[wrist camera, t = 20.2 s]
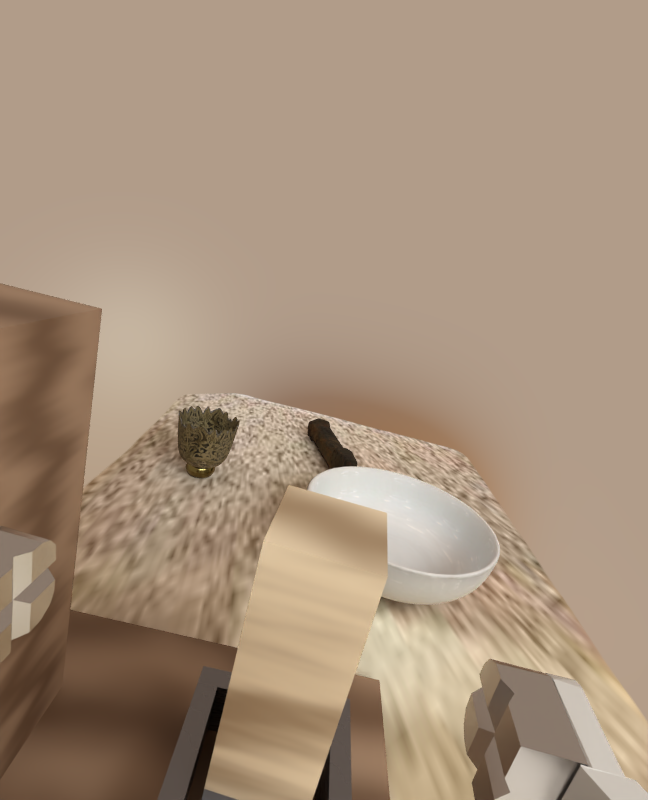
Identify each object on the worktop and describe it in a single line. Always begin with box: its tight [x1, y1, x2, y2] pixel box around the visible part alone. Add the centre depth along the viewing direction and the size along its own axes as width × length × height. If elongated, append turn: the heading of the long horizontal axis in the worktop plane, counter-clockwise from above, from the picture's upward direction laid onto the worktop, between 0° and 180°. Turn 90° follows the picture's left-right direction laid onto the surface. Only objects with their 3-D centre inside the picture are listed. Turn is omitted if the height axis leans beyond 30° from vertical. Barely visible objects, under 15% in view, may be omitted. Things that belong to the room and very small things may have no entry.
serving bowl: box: [307, 466, 500, 605], centre depth 51 cm, size 21×21×7 cm
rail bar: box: [202, 485, 388, 800], centre depth 23 cm, size 5×5×18 cm
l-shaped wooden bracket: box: [0, 284, 390, 800], centre depth 24 cm, size 16×26×25 cm, turn 88°
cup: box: [178, 406, 240, 478], centre depth 59 cm, size 8×7×8 cm
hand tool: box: [308, 419, 357, 469], centre depth 73 cm, size 19×4×5 cm, turn 13°
